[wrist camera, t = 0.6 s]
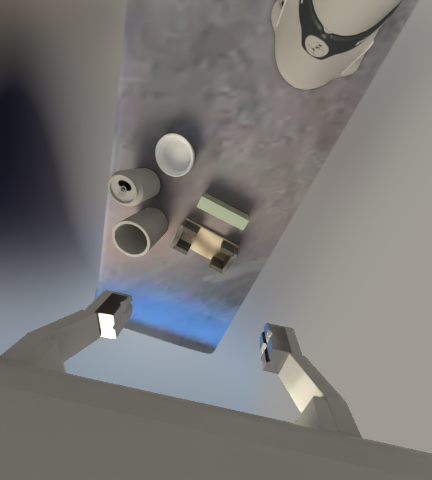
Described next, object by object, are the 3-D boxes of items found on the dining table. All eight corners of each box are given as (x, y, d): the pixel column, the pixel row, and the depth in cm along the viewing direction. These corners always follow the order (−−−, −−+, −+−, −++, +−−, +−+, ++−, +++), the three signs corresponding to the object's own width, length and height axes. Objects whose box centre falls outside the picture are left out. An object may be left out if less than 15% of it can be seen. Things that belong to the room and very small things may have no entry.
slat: (205, 192, 47) (201, 195, 43) (248, 215, 49) (249, 220, 44) (200, 202, 49) (196, 206, 44) (242, 224, 50) (243, 230, 45)
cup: (153, 242, 55) (132, 263, 44) (131, 219, 53) (104, 235, 42) (174, 226, 52) (157, 244, 41) (152, 201, 50) (129, 213, 39)
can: (166, 177, 47) (144, 183, 36) (155, 202, 50) (132, 214, 39) (139, 161, 46) (109, 163, 35) (130, 187, 49) (100, 196, 38)
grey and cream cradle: (186, 217, 51) (181, 223, 46) (238, 245, 53) (238, 254, 48) (175, 239, 54) (169, 247, 49) (224, 265, 56) (223, 275, 51)
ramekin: (157, 140, 43) (149, 139, 40) (191, 130, 42) (186, 128, 38) (168, 178, 47) (162, 180, 43) (201, 170, 45) (198, 172, 41)
